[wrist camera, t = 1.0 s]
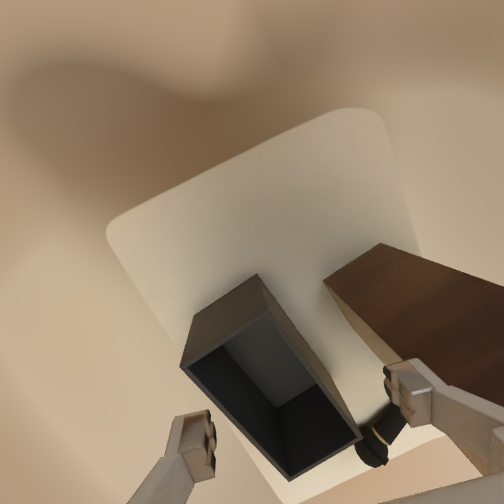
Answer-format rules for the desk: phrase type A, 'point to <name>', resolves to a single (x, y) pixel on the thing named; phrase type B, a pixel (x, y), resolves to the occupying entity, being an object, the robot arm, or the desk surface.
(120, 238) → the desk surface
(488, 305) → the stand
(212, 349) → the bin
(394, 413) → the microphone
